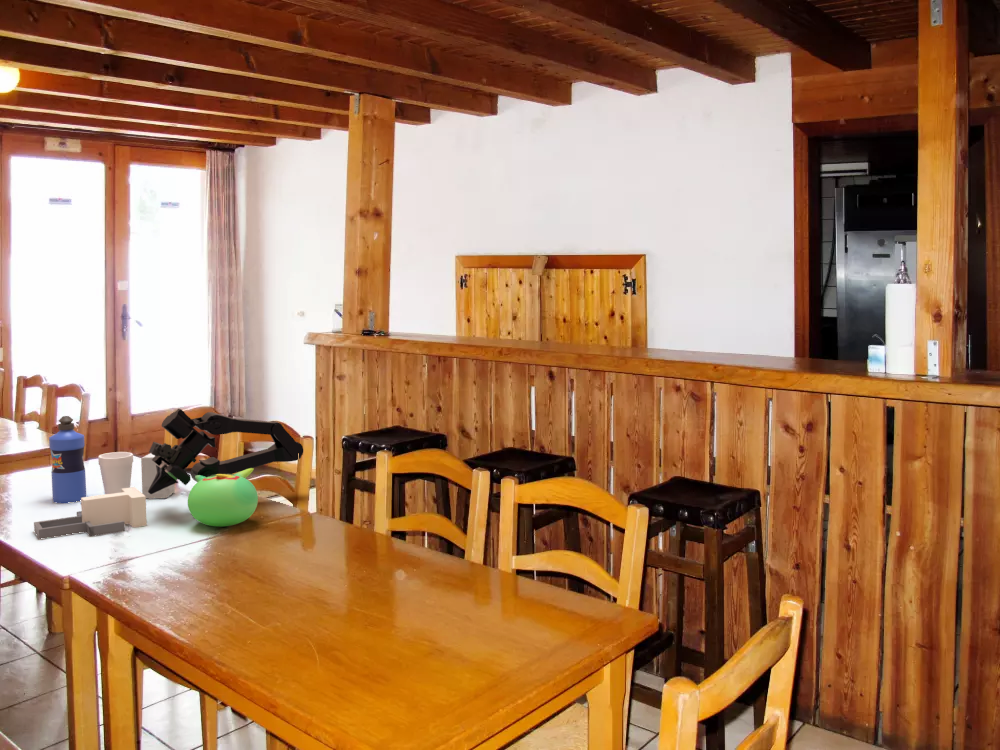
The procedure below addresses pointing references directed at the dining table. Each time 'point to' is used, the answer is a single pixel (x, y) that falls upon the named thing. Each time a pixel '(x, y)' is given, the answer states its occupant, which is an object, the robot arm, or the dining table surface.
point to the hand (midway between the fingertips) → (149, 493)
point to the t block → (115, 508)
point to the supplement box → (152, 478)
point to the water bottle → (67, 463)
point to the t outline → (74, 527)
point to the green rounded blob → (223, 499)
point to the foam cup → (116, 471)
